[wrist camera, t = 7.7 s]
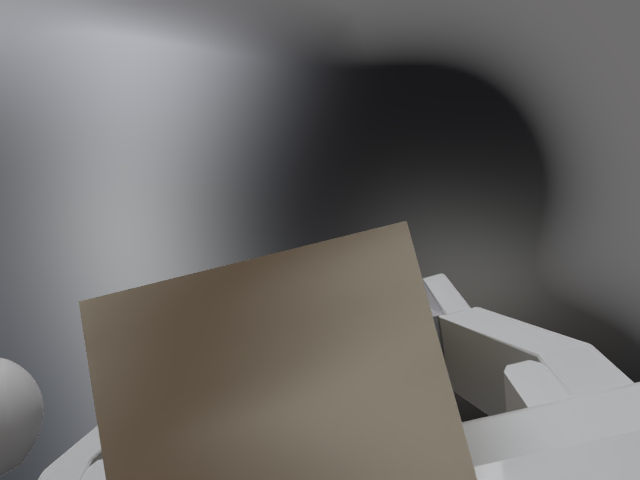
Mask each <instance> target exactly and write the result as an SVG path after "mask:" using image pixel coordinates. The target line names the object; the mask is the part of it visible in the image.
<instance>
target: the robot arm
mask: <svg viewBox="0 0 640 480" xmlns="http://www.w3.org/2000/svg"><path fill="white" fill-rule="evenodd" d="M422 280H423V283H424V287H425V290H426V294H427V298H428V301H429V305H430V309H431V312H432V316H433V320H434V323H435V327H436V331H437V334H438V338H439V342H440V345H441V349H442V353H443V356H444V360H445V364H446V367H447V371H448V375H449V378H450V382H451V386H452V389H453V391H455V392H456V393H458V394H459V395H461V396H462V397H463V398H465V399H466V400H468V401H469V402H470V403H472V404H473V405H475V406H476V407H478V408H479V409H480V410H482V411H483V412H485V413H486V414H488V415H489V417H484V418H480V419H475V420H471V421H466V422H462V426H463V429H464V433H465V437H466V440H467V444H468V448H469V451H470V455H471V459H472V462H473V466H474V470H475V473H476V477H477V480H640V382H638V383H634V382H633V381H631V380H630V379H629V378H628V377H627V376H626V375H625V374H624V373H622V372H621V371H620V370H619V369H618V368H617V367H615V365H613V364H612V363H611V362H610V361H609V360H608V359H607V358H606V357H605V356H603V355H602V354H601V353H600V352H599V351H598V350H597V349H596V348H594V347H593V346H592V345H591V344H588V343H585V342H582V341H579V340H576V339H573V338H570V337H567V336H564V335H561V334H558V333H555V332H552V331H549V330H546V329H543V328H540V327H537V326H533V325H531V324H527V323H525V322H521V321H519V320H516V319H513V318H510V317H506V316H503V315H500V314H497V313H494V312H491V311H488V310H485V309H482V308H479V307H475V308H470V306H469V305H468V304H467V303H466V302H465V300H464V299H463V297H462V296H461V295H460V294H459V292H458V291H457V290H456V289H455V287H454V286H453V285H452V283H451V282H450V281H449V280H448V278H447V277H446V276H445V275H444V274H437V275H434V276H430V277H427V278H424V279H422ZM43 412H44V408H43V399H42V395H41V392H40V389H39V387H38V385H37V383H36V382H35V380H34V379H33V378H32V376H31V375H30V374H29V373H28V372H27V371H26V370H25V369H23V368H22V367H21V366H19V365H18V364H16V363H14V362H12V361H10V360H8V359H4V358H0V476H2V475H4V474H6V473H7V472H9V471H11V470H13V469H15V468H16V467H18V466H20V465H21V464H22V462H23V461H24V460H25V459H26V457H27V456H28V454H29V453H30V451H31V450H32V448H33V446H34V444H35V442H36V440H37V437H38V435H39V433H40V429H41V426H42V421H43ZM38 480H106V477H105V470H104V464H103V457H102V451H101V444H100V438H99V431H98V426H97V427H95V428H94V429H93V430H92V431H91V432H89V433H88V434H87V435H86V436H85V437H83V438H82V439H81V440H80V441H79V442H77V443H76V444H75V445H74V446H73V447H71V448H70V449H69V450H68V451H67V452H66V453H64V454H63V455H62V456H61V457H59V459H57V460H56V461H55V462H54V463H52V464H51V465H50V466H49V467H47V468H46V469H45V470H44V471H43V472H42V474H41V476H40V477H39V479H38Z"/></svg>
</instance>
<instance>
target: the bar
mask: <svg viewBox="0 0 640 480" xmlns="http://www.w3.org/2000/svg"><path fill="white" fill-rule="evenodd" d="M79 306H80V312H81V319H82V325H83V332H84V339H85V345H86V352H87V358H88V365H89V372H90V378H91V385H92V392H93V398H94V405H95V411H96V418H97V424H98V431H99V438H100V444H101V451H102V457H103V464H104V470H105V477H106V480H477V477H476V473H475V470H474V466H473V462H472V459H471V455H470V451H469V448H468V444H467V440H466V437H465V433H464V429H463V426H462V422H461V419H460V415H459V411H458V407H457V404H456V400H455V397H454V393H453V389H452V386H451V382H450V378H449V375H448V371H447V367H446V364H445V360H444V356H443V353H442V349H441V345H440V342H439V338H438V334H437V331H436V327H435V323H434V320H433V316H432V312H431V309H430V305H429V301H428V298H427V294H426V290H425V287H424V283H423V280H422V276H421V272H420V269H419V265H418V261H417V258H416V254H415V250H414V247H413V243H412V240H411V236H410V232H409V228H408V225H407V221H404V222H400V223H397V224H392V225H388V226H384V227H380V228H376V229H372V230H368V231H364V232H360V233H356V234H352V235H347V236H343V237H340V238H335V239H331V240H327V241H323V242H319V243H315V244H311V245H307V246H303V247H299V248H295V249H291V250H287V251H283V252H279V253H274V254H271V255H266V256H262V257H259V258H254V259H250V260H246V261H242V262H238V263H234V264H230V265H226V266H222V267H218V268H214V269H210V270H206V271H202V272H198V273H193V274H189V275H186V276H181V277H177V278H173V279H169V280H165V281H161V282H157V283H153V284H149V285H145V286H141V287H137V288H132V289H128V290H124V291H120V292H116V293H112V294H108V295H104V296H101V297H96V298H92V299H88V300H84V301H80V302H79Z"/></svg>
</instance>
